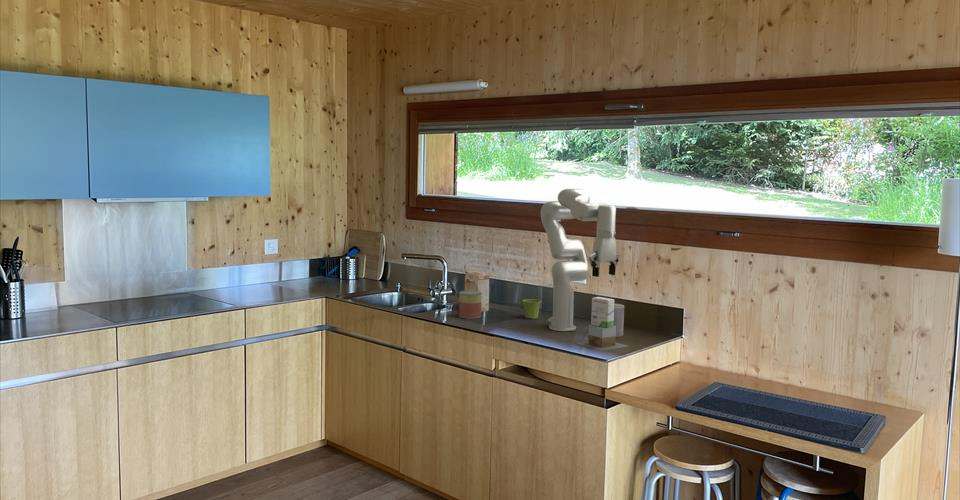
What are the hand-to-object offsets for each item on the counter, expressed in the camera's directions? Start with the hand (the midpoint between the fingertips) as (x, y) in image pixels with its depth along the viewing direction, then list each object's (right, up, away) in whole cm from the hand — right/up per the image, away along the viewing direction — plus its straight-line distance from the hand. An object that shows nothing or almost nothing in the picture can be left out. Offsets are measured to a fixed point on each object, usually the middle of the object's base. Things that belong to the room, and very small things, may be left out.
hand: (603, 275), depth 302 cm
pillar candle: (+8, -28, +22) cm, 37 cm away
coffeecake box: (-54, -21, +79) cm, 97 cm away
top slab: (0, -25, +2) cm, 25 cm away
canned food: (-57, -23, +59) cm, 85 cm away
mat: (0, -30, +3) cm, 30 cm away
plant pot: (-26, -23, +58) cm, 68 cm away
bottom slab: (0, -29, +3) cm, 29 cm away
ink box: (0, -21, +2) cm, 22 cm away
